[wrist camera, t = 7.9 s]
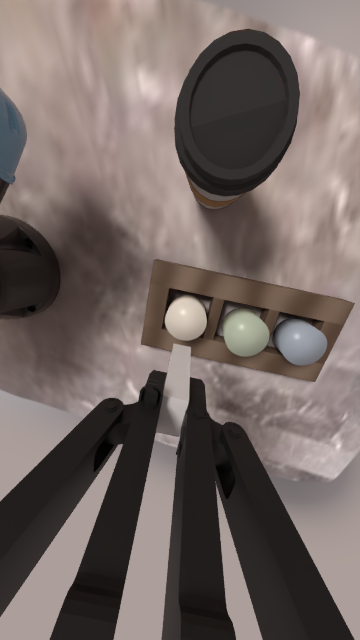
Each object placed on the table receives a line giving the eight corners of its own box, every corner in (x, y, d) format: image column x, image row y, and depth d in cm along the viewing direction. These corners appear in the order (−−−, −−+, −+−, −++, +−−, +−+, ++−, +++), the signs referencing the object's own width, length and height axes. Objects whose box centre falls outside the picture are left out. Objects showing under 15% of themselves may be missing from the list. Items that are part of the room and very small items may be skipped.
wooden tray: (144, 337, 35) (140, 344, 33) (156, 259, 31) (153, 260, 28) (307, 372, 35) (315, 381, 33) (342, 299, 31) (354, 303, 28)
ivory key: (165, 325, 32) (161, 335, 28) (172, 290, 30) (169, 297, 26) (200, 332, 32) (201, 344, 28) (209, 298, 30) (211, 306, 26)
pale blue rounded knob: (267, 347, 32) (276, 360, 28) (280, 314, 30) (292, 323, 26) (302, 354, 32) (316, 369, 28) (317, 322, 30) (334, 332, 26)
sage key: (217, 339, 31) (220, 351, 27) (227, 304, 29) (231, 312, 26) (253, 346, 31) (260, 360, 27) (265, 312, 29) (275, 322, 26)
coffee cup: (251, 210, 28) (309, 171, 14) (190, 224, 29) (184, 202, 15) (245, 134, 25) (309, -10, 11) (177, 153, 26) (157, 43, 12)
